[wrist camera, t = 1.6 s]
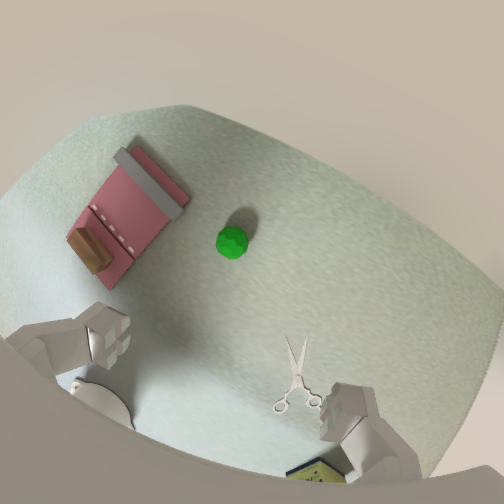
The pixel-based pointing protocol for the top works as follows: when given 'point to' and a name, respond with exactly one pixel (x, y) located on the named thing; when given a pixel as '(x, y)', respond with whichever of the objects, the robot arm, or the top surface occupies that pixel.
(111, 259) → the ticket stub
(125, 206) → the ticket
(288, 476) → the protein box
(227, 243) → the polyhedron
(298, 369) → the scissors
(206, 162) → the top surface
